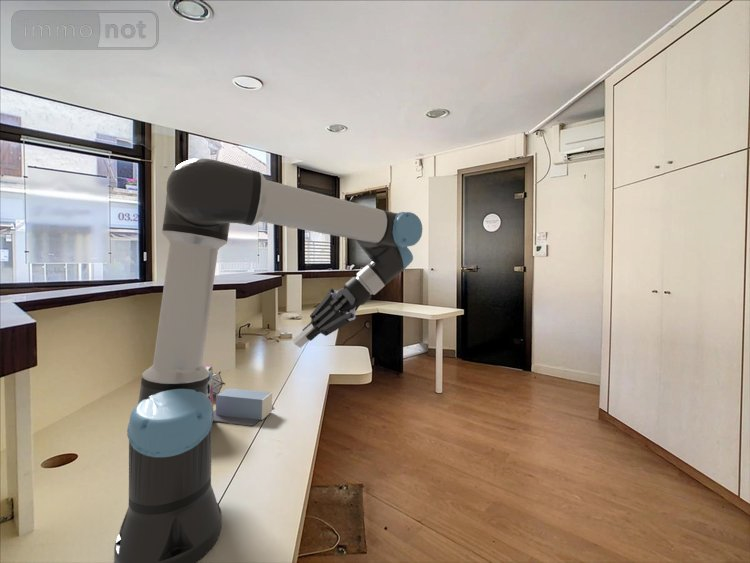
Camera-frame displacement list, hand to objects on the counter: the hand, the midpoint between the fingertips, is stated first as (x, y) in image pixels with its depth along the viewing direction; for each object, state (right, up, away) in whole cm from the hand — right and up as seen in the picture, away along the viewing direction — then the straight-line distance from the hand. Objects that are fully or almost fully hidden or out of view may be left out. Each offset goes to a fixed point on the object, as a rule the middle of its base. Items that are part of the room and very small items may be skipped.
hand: (296, 344), depth 89 cm
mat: (-21, -24, +14) cm, 35 cm away
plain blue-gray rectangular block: (-12, -21, +13) cm, 27 cm away
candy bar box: (-31, -24, +6) cm, 40 cm away
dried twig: (-36, -23, +28) cm, 51 cm away
